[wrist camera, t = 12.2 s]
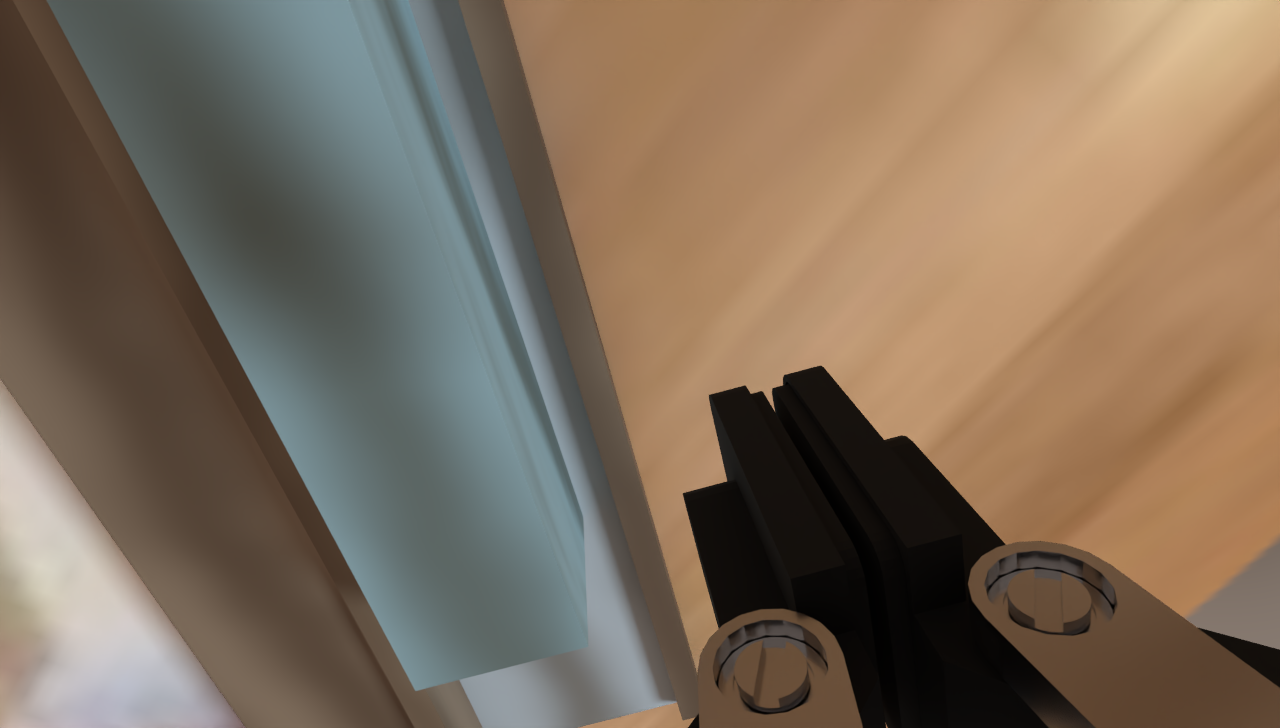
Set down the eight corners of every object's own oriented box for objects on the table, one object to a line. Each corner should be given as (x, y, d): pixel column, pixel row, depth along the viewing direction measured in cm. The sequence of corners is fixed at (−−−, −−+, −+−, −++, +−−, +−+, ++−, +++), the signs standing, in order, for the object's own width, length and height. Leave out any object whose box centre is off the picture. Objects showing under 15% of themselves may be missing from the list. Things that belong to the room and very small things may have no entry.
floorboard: (316, -649, 14) (260, -805, 11) (701, 689, 30) (714, 750, 27) (-465, -432, 14) (-692, -536, 12) (333, 783, 30) (311, 852, 27)
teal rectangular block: (390, -52, 18) (313, -94, 12) (583, 516, 25) (588, 646, 20) (197, -1, 18) (35, -19, 12) (447, 552, 25) (415, 690, 20)
